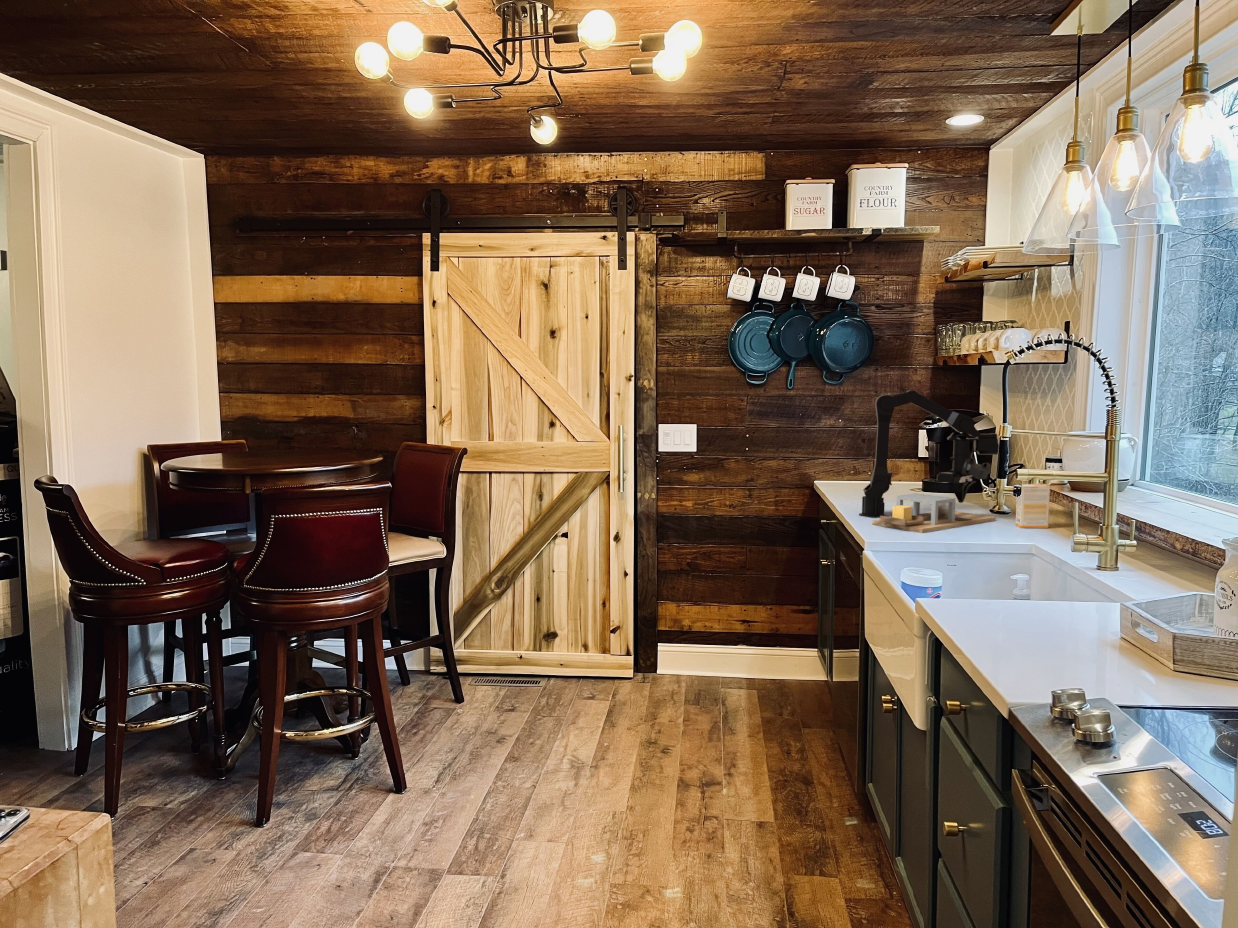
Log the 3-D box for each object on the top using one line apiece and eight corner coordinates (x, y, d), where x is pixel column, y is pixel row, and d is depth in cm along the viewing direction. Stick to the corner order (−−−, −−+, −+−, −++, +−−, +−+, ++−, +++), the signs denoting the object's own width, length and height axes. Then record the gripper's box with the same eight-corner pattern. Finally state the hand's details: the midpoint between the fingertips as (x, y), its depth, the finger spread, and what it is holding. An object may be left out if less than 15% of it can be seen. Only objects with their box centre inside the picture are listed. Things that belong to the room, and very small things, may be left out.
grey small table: (895, 522, 272) (896, 495, 272) (915, 519, 278) (916, 493, 277) (934, 528, 261) (935, 500, 260) (954, 525, 267) (955, 498, 266)
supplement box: (1042, 525, 266) (1044, 483, 265) (1048, 528, 261) (1050, 485, 260) (1014, 525, 267) (1016, 483, 266) (1020, 528, 262) (1022, 485, 261)
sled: (880, 521, 264) (880, 502, 263) (933, 513, 279) (933, 495, 278) (905, 525, 257) (905, 505, 256) (958, 517, 272) (958, 498, 271)
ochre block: (892, 519, 263) (892, 506, 263) (900, 518, 266) (901, 505, 265) (903, 521, 260) (903, 507, 260) (911, 519, 262) (912, 506, 262)
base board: (872, 524, 269) (872, 520, 269) (945, 513, 291) (945, 509, 290) (922, 532, 254) (922, 528, 254) (995, 520, 276) (995, 516, 276)
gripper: (968, 457, 266) (966, 508, 268) (1002, 454, 277) (1000, 502, 278) (936, 455, 275) (934, 503, 277) (971, 452, 286) (969, 499, 287)
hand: (960, 502), depth 279 cm, fingers closed
